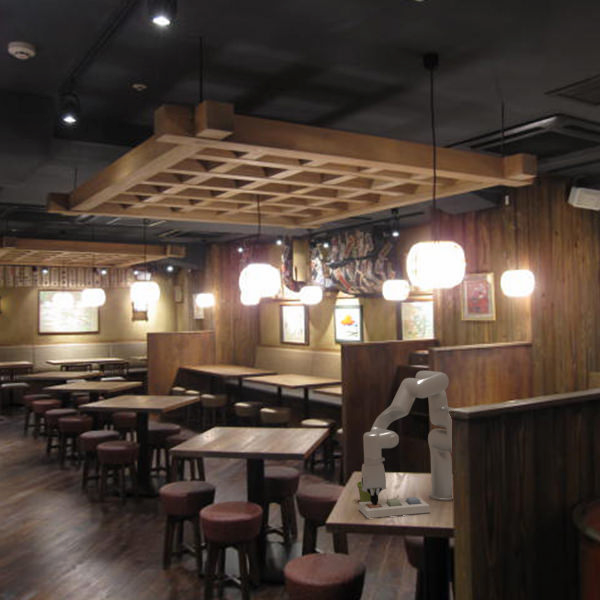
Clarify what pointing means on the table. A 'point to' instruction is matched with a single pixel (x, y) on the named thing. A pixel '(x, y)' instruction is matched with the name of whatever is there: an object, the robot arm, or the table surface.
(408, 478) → the table surface
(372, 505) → the terracotta button
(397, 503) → the sage button
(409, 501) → the slate button
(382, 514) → the button panel
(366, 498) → the plant pot
